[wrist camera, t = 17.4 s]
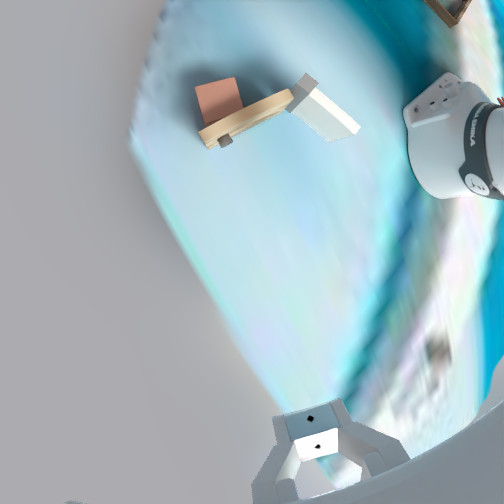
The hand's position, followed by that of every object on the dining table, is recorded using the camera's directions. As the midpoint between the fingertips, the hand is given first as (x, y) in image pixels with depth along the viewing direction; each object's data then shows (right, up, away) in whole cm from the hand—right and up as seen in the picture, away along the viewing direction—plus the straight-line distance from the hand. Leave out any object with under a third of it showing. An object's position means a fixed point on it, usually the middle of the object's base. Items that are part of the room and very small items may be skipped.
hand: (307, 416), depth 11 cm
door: (-3, +22, +22) cm, 31 cm away
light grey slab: (+5, +24, +22) cm, 33 cm away
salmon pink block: (-6, +24, +22) cm, 33 cm away
